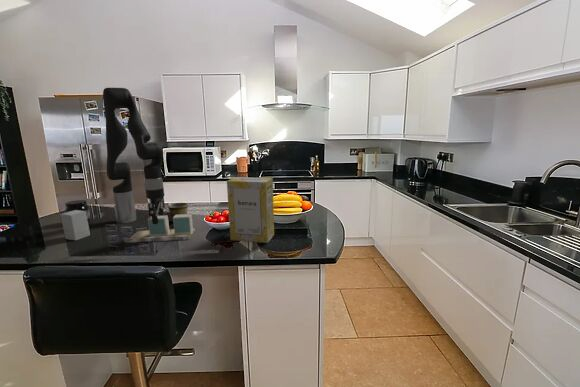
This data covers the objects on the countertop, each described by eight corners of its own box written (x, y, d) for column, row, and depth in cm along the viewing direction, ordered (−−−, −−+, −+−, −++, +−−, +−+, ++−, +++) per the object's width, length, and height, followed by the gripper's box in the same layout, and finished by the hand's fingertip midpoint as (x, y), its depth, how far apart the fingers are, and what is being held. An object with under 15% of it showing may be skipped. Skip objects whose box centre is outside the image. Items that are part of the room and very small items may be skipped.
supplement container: (63, 224, 155) (59, 203, 152) (83, 218, 165) (79, 198, 162) (76, 226, 151) (71, 205, 149) (95, 220, 161) (91, 200, 158)
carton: (150, 237, 130) (147, 219, 128) (153, 233, 135) (151, 216, 133) (166, 236, 131) (164, 218, 129) (169, 233, 136) (167, 215, 134)
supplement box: (90, 235, 138) (86, 210, 135) (75, 240, 131) (70, 215, 129) (80, 233, 141) (75, 209, 138) (64, 239, 134) (59, 213, 131)
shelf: (124, 245, 125) (123, 239, 124) (138, 233, 139) (137, 227, 139) (189, 242, 128) (188, 235, 127) (196, 230, 142) (195, 224, 142)
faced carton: (174, 235, 132) (172, 217, 130) (177, 232, 137) (175, 214, 135) (191, 235, 133) (189, 217, 131) (193, 231, 137) (191, 214, 135)
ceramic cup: (192, 221, 156) (191, 204, 154) (175, 226, 149) (173, 208, 147) (181, 217, 165) (180, 200, 163) (164, 221, 158) (162, 204, 155)
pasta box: (230, 239, 130) (226, 181, 124) (239, 231, 140) (236, 177, 134) (267, 242, 126) (265, 182, 120) (274, 234, 136) (272, 178, 130)
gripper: (157, 190, 122) (161, 225, 125) (167, 184, 135) (171, 215, 139) (139, 191, 121) (144, 226, 125) (151, 184, 134) (155, 216, 138)
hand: (158, 220), depth 132 cm, fingers open, 8 cm apart
